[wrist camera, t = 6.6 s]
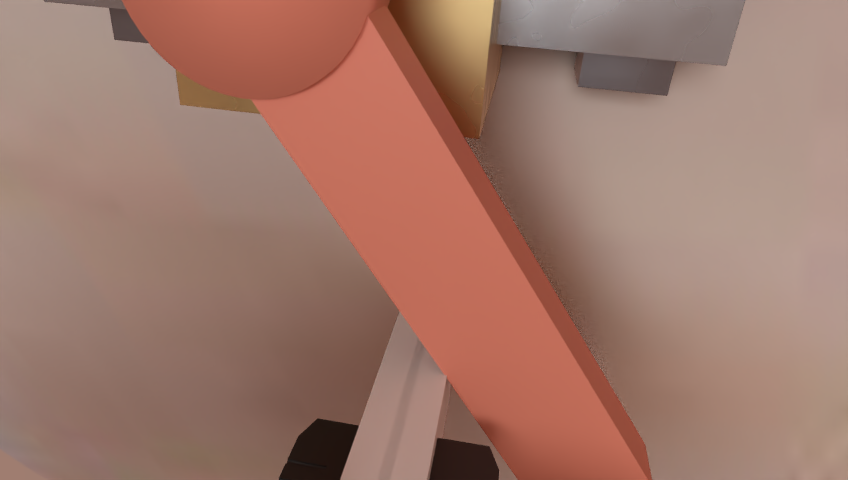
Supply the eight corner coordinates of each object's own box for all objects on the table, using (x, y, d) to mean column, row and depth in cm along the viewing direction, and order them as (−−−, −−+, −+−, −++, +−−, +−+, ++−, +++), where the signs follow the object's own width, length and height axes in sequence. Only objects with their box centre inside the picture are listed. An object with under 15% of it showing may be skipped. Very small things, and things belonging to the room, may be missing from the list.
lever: (117, -89, 10) (49, -91, 9) (298, -258, 9) (251, -293, 7) (514, 475, 15) (510, 533, 13) (680, 427, 13) (696, 487, 12)
